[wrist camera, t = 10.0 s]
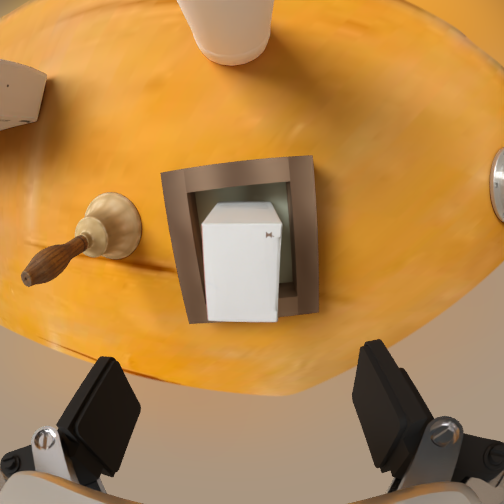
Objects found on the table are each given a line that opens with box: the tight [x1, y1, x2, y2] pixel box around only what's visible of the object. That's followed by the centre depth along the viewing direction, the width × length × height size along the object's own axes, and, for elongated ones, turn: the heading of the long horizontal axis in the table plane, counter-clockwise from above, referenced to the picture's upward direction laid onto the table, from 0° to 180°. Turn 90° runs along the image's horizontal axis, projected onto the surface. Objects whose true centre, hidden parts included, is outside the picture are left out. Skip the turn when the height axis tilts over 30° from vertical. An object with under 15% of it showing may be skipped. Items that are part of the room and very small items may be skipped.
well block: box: [161, 155, 319, 324], centre depth 28 cm, size 14×16×4 cm
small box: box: [201, 201, 283, 322], centre depth 24 cm, size 8×6×10 cm
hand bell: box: [21, 192, 142, 287], centre depth 22 cm, size 8×8×16 cm
